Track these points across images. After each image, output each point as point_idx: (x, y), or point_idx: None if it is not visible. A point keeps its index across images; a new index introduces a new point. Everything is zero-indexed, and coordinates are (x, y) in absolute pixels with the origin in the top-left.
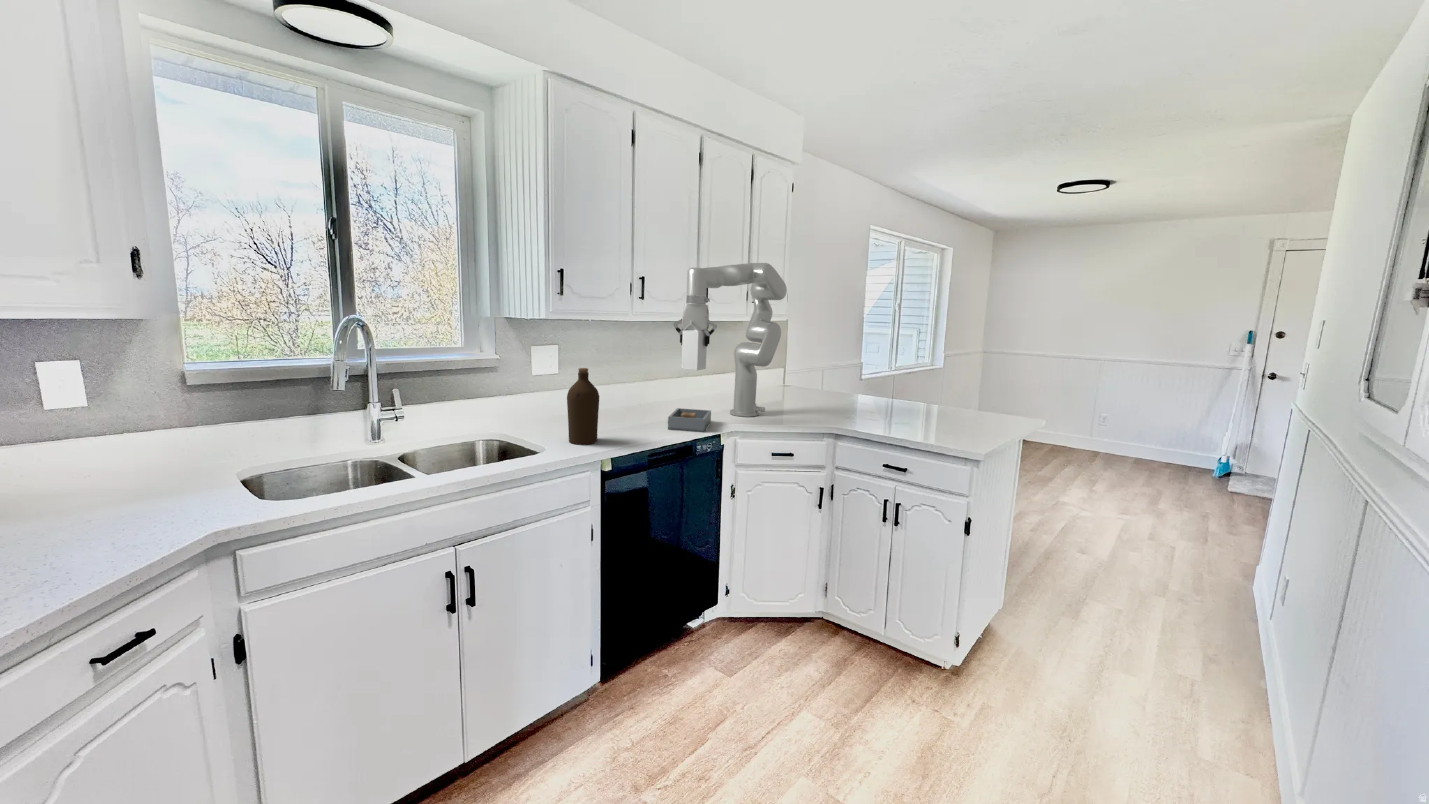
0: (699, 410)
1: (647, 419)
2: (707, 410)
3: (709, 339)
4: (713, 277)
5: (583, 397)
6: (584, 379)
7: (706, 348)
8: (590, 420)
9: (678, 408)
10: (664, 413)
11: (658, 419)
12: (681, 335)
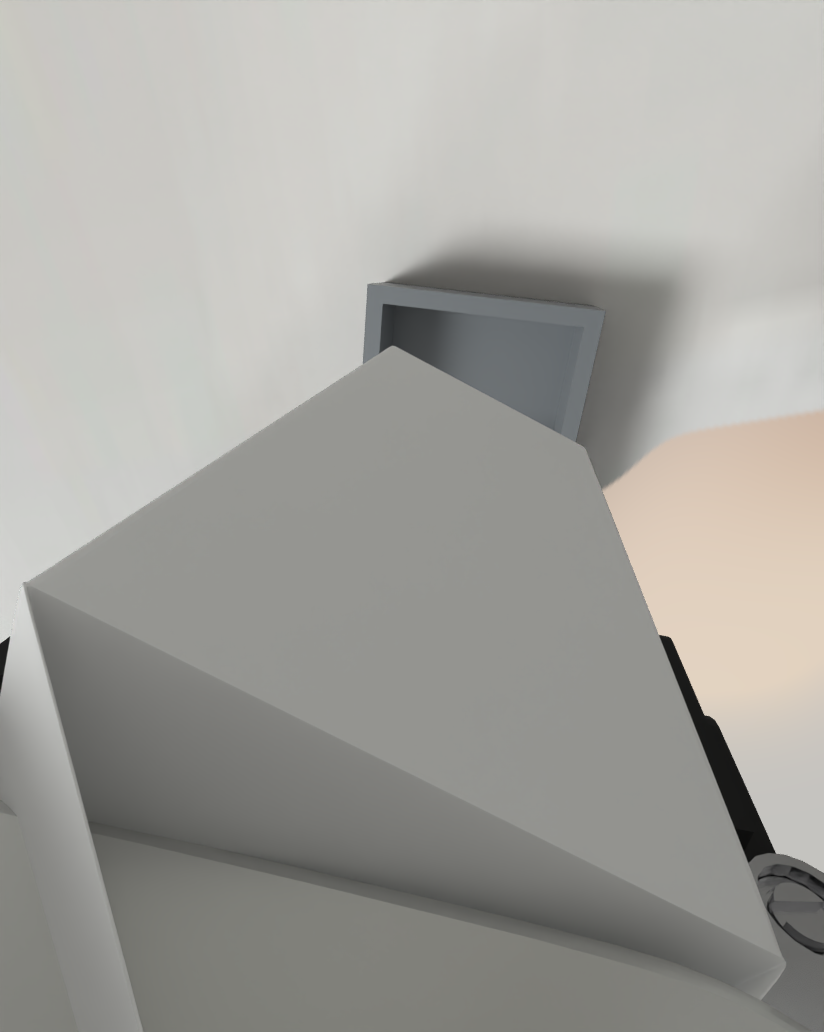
0: (521, 319)
1: (223, 301)
2: (578, 317)
3: (744, 797)
4: None
5: None
6: None
7: (631, 573)
8: None
9: (377, 293)
10: (276, 58)
11: (280, 285)
12: None
